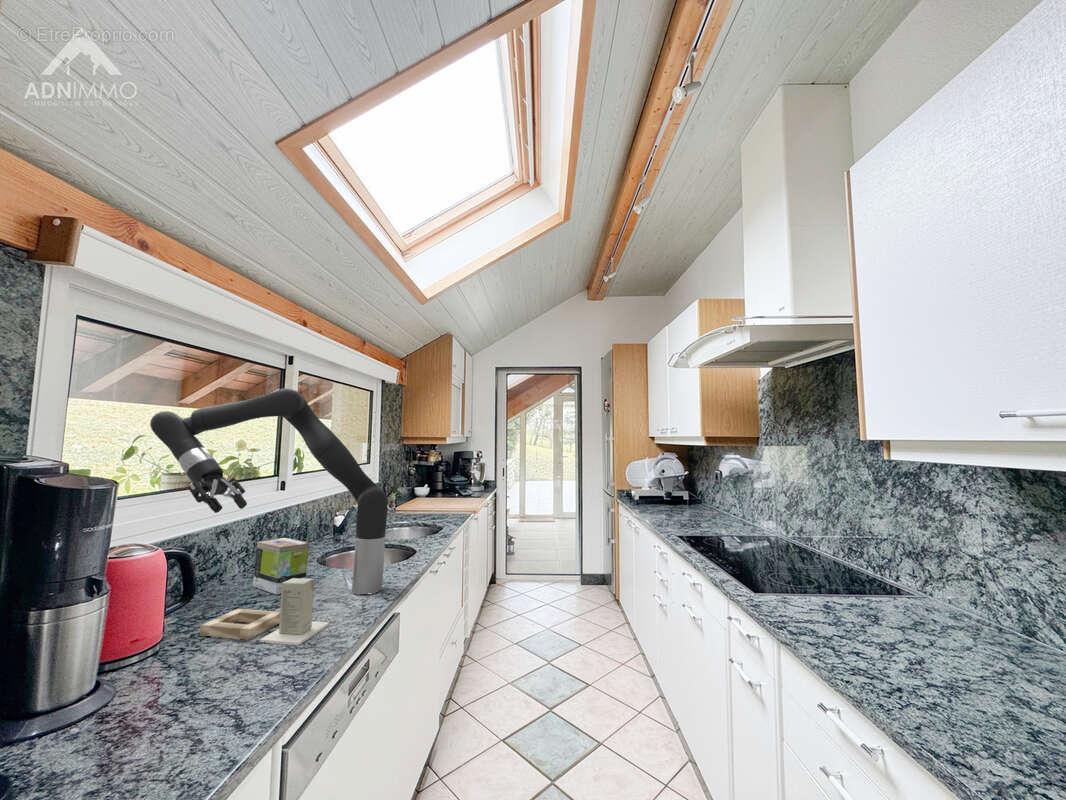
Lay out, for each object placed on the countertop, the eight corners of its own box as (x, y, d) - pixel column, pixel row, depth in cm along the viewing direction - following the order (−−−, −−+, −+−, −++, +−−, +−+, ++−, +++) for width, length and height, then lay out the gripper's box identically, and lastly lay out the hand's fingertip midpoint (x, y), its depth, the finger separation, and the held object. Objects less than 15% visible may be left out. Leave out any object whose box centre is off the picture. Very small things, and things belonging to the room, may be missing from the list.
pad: (294, 622, 114) (294, 619, 114) (328, 625, 112) (328, 622, 112) (259, 642, 102) (260, 639, 102) (298, 645, 101) (298, 642, 101)
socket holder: (236, 618, 116) (237, 608, 116) (281, 621, 114) (282, 612, 114) (199, 635, 105) (200, 625, 105) (248, 640, 103) (249, 629, 103)
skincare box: (312, 628, 109) (316, 578, 110) (301, 635, 105) (305, 583, 106) (288, 626, 110) (293, 577, 111) (276, 633, 105) (281, 582, 107)
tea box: (306, 587, 142) (310, 541, 143) (275, 596, 133) (279, 547, 135) (282, 579, 150) (286, 536, 151) (251, 587, 141) (255, 541, 143)
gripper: (187, 458, 117) (220, 502, 114) (230, 457, 131) (260, 496, 128) (167, 477, 117) (200, 522, 114) (212, 474, 131) (242, 514, 128)
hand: (232, 508), depth 121 cm, fingers open, 8 cm apart
